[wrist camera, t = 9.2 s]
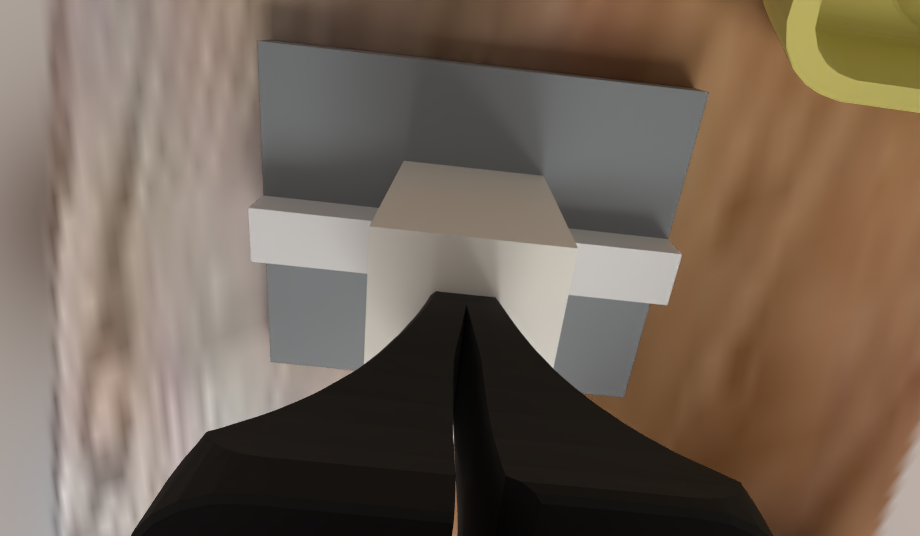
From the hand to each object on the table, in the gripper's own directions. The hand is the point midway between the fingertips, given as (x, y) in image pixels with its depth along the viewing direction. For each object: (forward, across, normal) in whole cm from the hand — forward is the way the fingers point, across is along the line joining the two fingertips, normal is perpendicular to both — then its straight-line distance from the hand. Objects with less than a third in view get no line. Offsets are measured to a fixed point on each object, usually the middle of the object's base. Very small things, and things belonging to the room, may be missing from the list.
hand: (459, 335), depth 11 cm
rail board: (+6, 0, 0) cm, 6 cm away
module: (+5, 0, 0) cm, 5 cm away
